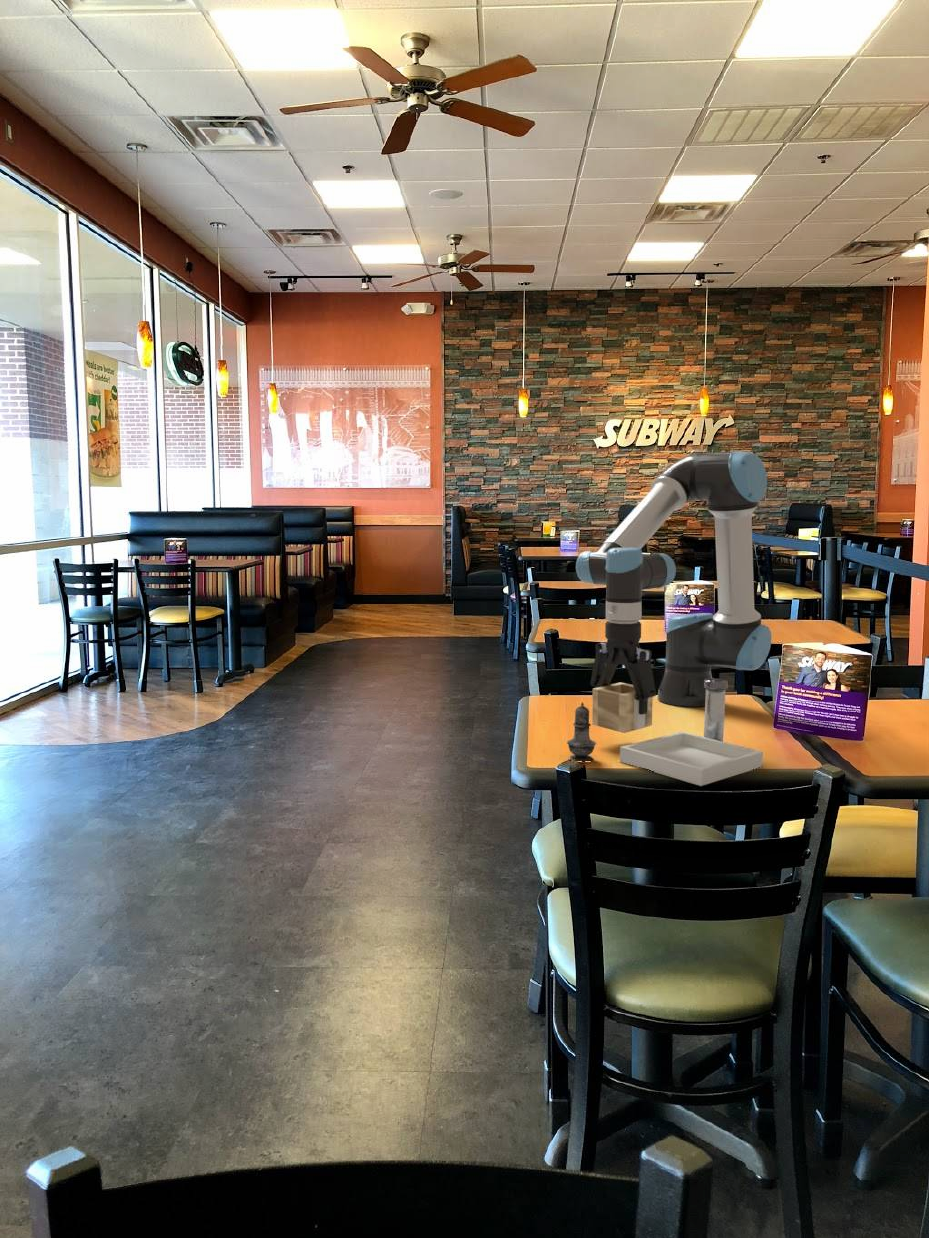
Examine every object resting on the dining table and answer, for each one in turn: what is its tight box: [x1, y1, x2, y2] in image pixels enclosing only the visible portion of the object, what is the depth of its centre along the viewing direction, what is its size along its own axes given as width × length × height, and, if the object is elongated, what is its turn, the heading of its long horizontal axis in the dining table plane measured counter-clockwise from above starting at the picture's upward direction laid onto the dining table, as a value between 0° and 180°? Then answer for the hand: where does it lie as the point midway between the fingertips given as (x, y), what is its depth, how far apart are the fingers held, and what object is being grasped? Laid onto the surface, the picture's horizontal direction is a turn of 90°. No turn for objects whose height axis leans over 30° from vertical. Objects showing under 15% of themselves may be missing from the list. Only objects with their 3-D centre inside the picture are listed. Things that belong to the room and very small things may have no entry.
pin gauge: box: [703, 677, 729, 742], centre depth 198 cm, size 5×5×15 cm
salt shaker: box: [566, 702, 597, 762], centre depth 190 cm, size 6×6×12 cm
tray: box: [619, 731, 764, 787], centre depth 188 cm, size 20×20×3 cm
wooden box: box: [591, 681, 654, 734], centre depth 200 cm, size 9×9×8 cm
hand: (621, 723), depth 201 cm, fingers closed on wooden box, 9 cm apart
